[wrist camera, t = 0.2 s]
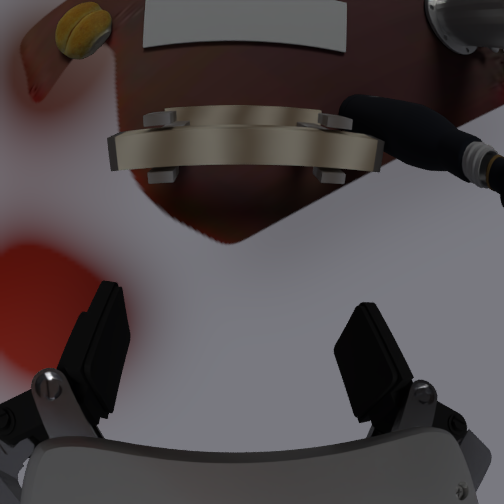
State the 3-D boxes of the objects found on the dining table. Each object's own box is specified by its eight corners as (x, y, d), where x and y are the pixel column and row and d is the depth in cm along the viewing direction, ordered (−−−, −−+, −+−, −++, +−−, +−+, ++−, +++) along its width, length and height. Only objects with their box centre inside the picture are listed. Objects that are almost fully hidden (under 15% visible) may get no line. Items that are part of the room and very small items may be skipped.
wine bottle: (352, 145, 36) (519, 271, 11) (330, 107, 33) (522, 187, 8) (385, 124, 34) (564, 219, 9) (365, 86, 31) (566, 138, 6)
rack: (319, 108, 33) (360, 120, 22) (315, 153, 36) (351, 184, 26) (166, 106, 31) (134, 116, 21) (168, 152, 35) (140, 184, 24)
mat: (344, 4, 24) (346, 3, 24) (344, 52, 28) (345, 52, 28) (147, -2, 22) (146, -4, 22) (144, 48, 26) (143, 47, 26)
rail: (370, 135, 26) (384, 141, 23) (366, 163, 27) (379, 172, 25) (119, 132, 24) (107, 138, 21) (122, 162, 25) (111, 171, 23)
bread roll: (88, -3, 20) (76, -9, 17) (123, 23, 24) (112, 18, 21) (52, 40, 22) (37, 38, 19) (83, 68, 27) (69, 68, 23)
